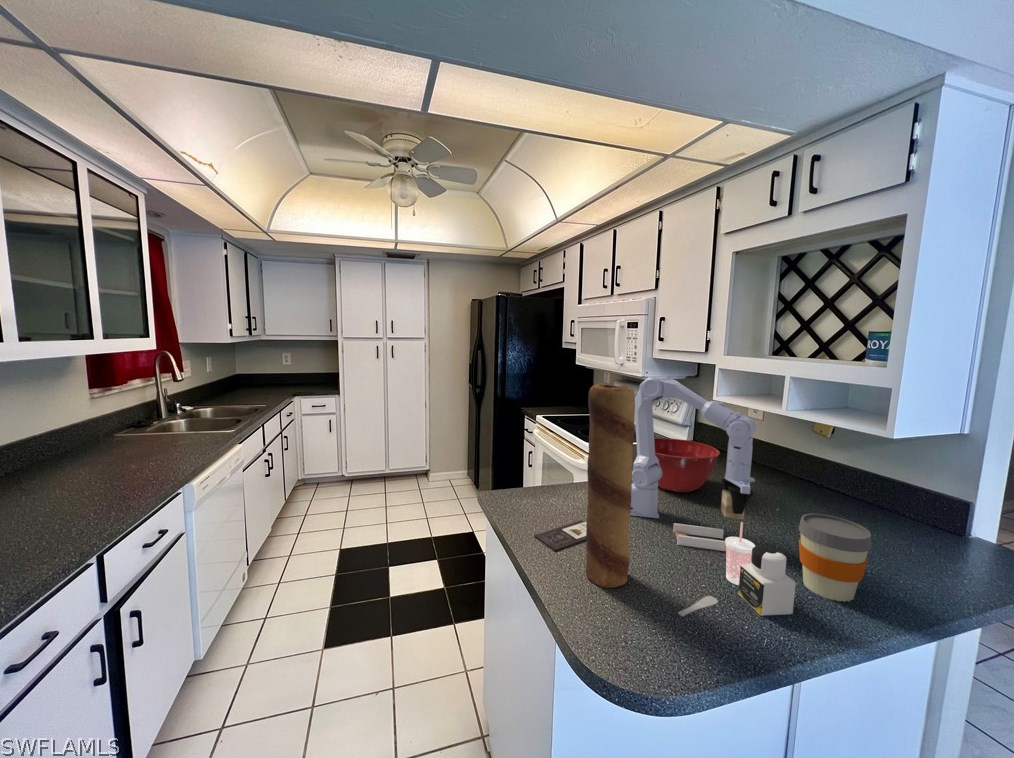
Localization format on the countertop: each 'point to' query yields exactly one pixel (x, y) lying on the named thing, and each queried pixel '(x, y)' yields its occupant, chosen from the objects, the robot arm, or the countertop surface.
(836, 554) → the reusable coffee cup
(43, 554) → the countertop surface
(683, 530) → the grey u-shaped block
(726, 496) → the maple block
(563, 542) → the chocolate bar
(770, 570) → the medicine bottle
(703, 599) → the grey flat paddle piece
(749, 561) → the beverage cup
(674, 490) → the mixing bowl
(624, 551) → the wafer roll
